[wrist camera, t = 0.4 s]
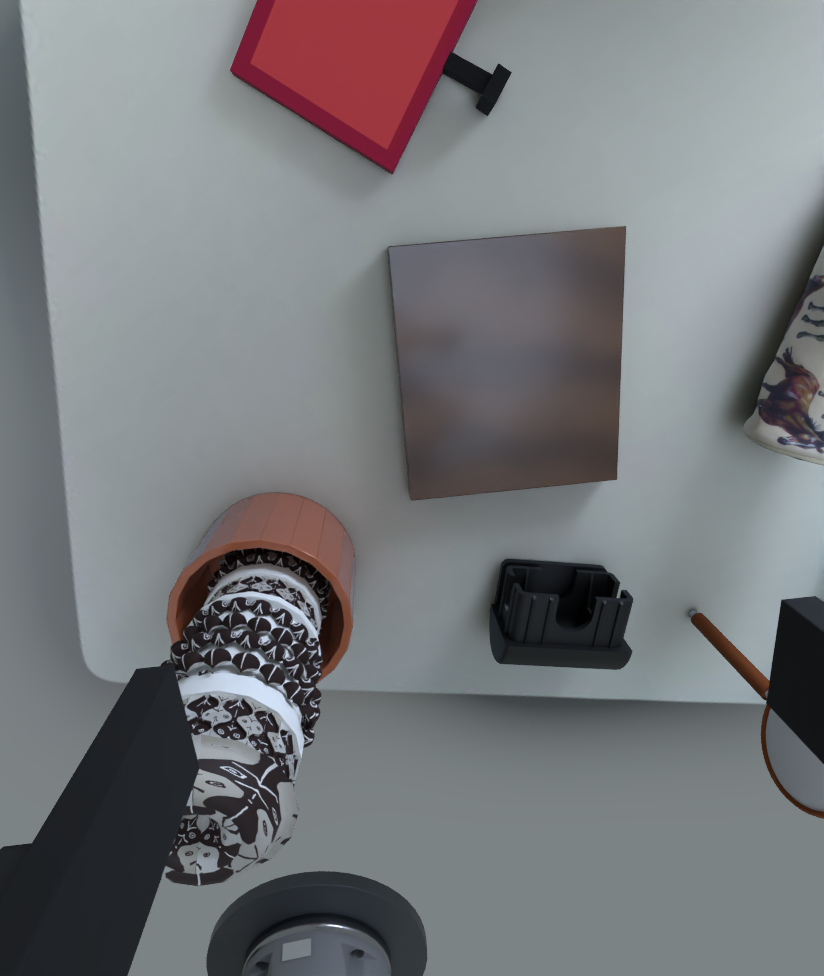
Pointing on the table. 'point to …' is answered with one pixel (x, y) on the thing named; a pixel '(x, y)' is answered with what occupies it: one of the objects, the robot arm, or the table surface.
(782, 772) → the magnifying glass
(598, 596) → the end cap
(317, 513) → the pot
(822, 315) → the pencil case
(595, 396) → the board
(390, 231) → the table surface
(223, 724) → the decorative candle
